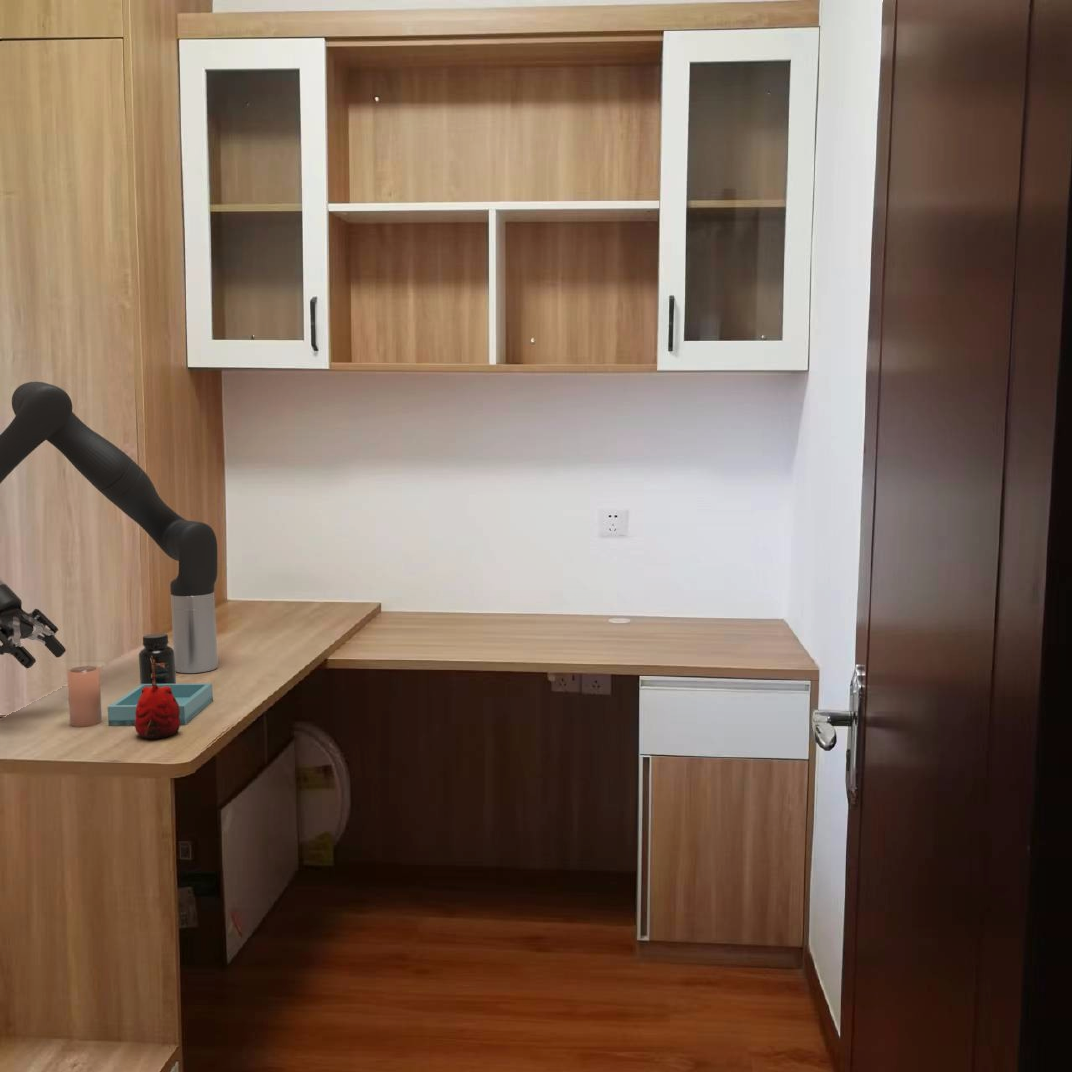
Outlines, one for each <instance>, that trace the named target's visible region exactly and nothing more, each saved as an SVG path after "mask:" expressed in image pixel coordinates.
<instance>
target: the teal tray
mask: <svg viewBox="0 0 1072 1072" xmlns="http://www.w3.org/2000/svg"><path fill="white" fill-rule="evenodd" d="M157 686H158V687H165V686H168V687H170V688H171V691H172V694H173V696H174V697H175V699H176V701H177V703H178V705H179V709H180V715H179V718H180V726H185V725H187V724H188V723H189V722H190V721H192V720H193V719H194V718H195V717H196V716H197V715H198V714H199V713H200V712H202V710H204V709H205V708H207V706H208V705H210V704H211V703H212V702H213V701H214V696H213V695H214V694H213V693H214V692H213V683H211V682H209V683H208V682H206V683H202V682H201V683H195V682H194V683H176V684H157ZM144 687H152V684H140V685H138V686H136V687H135V688H134V689H132V690H130V691H129V692H127V693H126V694H124V695H123V696H121V697H120V698H118V699H117V700H116V701H114V702H112V703H111V704H110V705H108V706H107V719H108V726H135V719H136V716H135V712H136V707H137V703H138V701H139V698H140V696H141V695H142V689H143V688H144Z"/></svg>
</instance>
